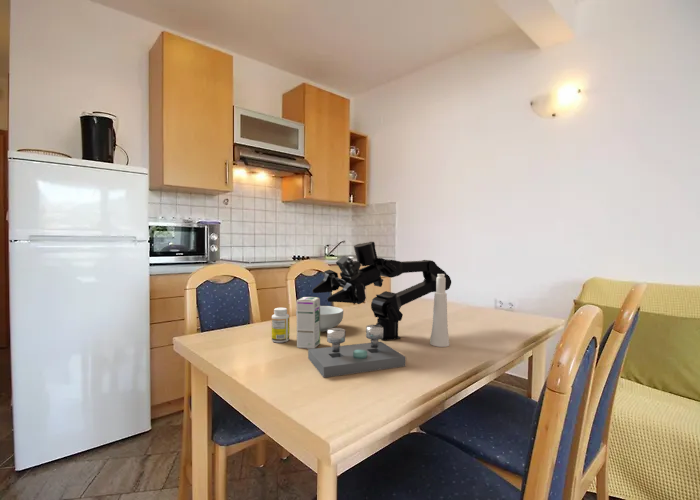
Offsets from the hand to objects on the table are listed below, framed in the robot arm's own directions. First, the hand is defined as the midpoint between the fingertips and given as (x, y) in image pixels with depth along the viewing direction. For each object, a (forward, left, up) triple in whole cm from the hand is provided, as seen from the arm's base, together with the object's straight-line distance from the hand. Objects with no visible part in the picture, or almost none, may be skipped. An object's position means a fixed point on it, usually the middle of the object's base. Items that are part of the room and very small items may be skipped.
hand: (319, 295), depth 103 cm
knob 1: (0, +14, -13) cm, 19 cm away
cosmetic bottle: (-37, +8, -16) cm, 41 cm away
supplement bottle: (+9, -12, -16) cm, 22 cm away
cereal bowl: (-7, -22, -16) cm, 28 cm away
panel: (-6, +14, -16) cm, 22 cm away
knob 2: (-11, +14, -13) cm, 22 cm away
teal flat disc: (-6, +17, -13) cm, 22 cm away
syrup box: (+2, -4, -16) cm, 17 cm away
